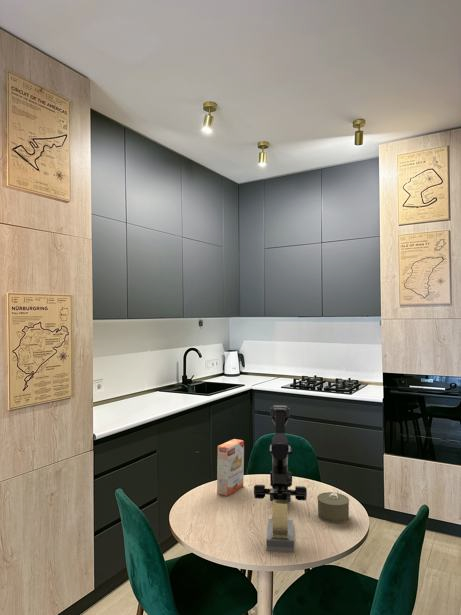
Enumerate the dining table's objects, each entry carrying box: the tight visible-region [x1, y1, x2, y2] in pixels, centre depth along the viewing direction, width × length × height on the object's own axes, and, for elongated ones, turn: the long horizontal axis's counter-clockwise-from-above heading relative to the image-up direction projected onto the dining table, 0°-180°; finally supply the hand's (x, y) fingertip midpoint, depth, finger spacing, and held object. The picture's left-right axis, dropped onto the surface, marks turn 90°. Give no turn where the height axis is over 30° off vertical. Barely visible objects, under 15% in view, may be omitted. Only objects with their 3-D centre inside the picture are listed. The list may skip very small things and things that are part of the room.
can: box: [316, 491, 350, 524], centre depth 169 cm, size 12×12×7 cm
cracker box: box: [216, 438, 245, 497], centre depth 195 cm, size 14×6×21 cm, turn 148°
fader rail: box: [265, 518, 295, 554], centre depth 153 cm, size 20×9×4 cm, turn 173°
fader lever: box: [271, 500, 289, 540], centre depth 149 cm, size 5×6×12 cm
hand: (280, 516), depth 151 cm, fingers closed, pressing on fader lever
